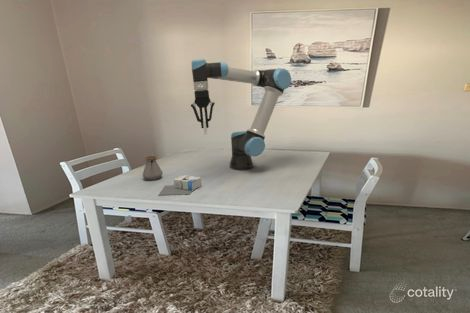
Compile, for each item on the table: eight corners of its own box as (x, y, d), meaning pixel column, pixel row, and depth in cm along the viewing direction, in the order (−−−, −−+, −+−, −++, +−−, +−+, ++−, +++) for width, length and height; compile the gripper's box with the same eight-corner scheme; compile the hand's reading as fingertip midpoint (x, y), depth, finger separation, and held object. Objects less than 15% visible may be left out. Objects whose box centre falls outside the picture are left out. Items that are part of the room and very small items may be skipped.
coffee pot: (142, 177, 182) (139, 152, 178) (162, 174, 185) (159, 150, 182) (143, 188, 162) (140, 161, 158) (165, 185, 165) (162, 158, 162)
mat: (194, 185, 163) (194, 184, 163) (190, 194, 150) (190, 193, 150) (165, 186, 164) (164, 185, 164) (158, 195, 150) (158, 195, 150)
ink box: (191, 181, 153) (173, 179, 158) (192, 190, 154) (174, 188, 159) (201, 176, 160) (183, 174, 165) (201, 185, 161) (183, 183, 167)
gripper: (188, 91, 155) (193, 136, 161) (213, 89, 155) (217, 134, 161) (189, 90, 162) (194, 133, 169) (213, 88, 163) (217, 131, 169)
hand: (205, 133), depth 165 cm, fingers closed
